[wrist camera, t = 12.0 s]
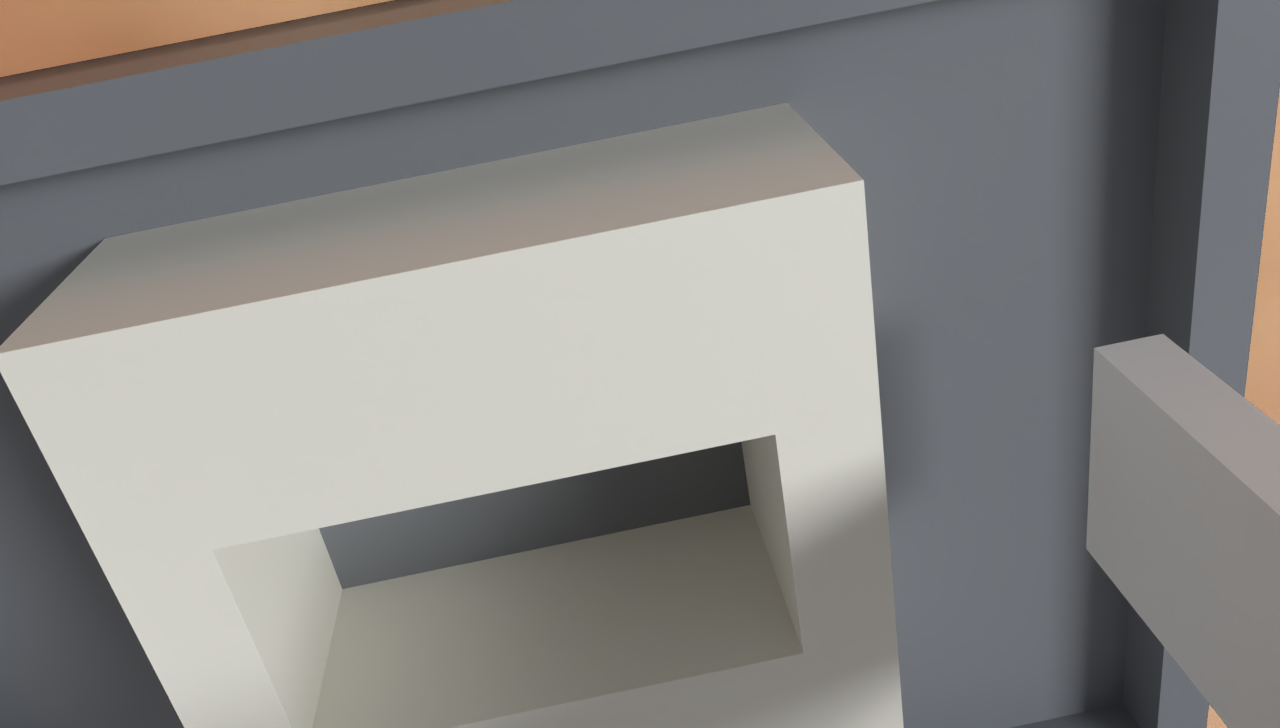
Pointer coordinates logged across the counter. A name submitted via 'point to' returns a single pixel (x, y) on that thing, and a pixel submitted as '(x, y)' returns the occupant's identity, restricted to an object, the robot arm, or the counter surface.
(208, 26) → the counter surface
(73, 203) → the tray
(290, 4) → the counter surface
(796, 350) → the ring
